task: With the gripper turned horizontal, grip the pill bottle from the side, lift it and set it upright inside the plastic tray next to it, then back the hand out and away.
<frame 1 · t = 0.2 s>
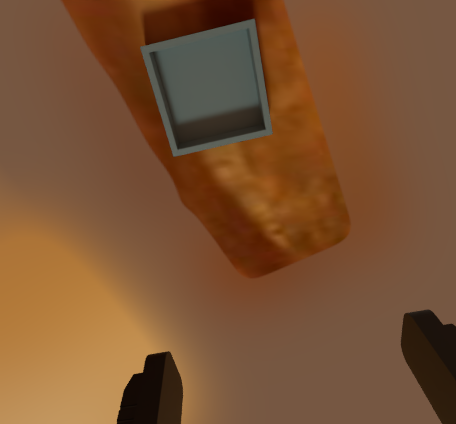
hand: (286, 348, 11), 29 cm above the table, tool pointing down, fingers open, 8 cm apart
tray: (210, 89, 35), on the table
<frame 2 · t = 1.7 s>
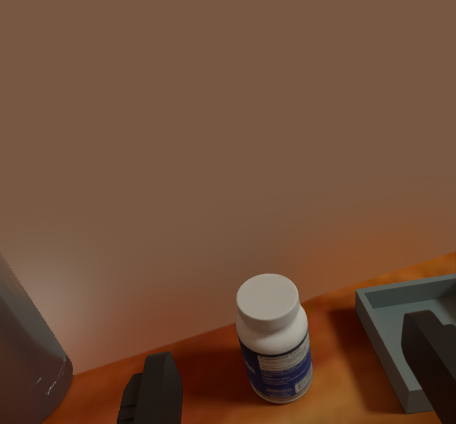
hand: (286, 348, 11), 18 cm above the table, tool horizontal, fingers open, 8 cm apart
pill bottle: (280, 376, 30), on the table
tray: (435, 345, 30), on the table
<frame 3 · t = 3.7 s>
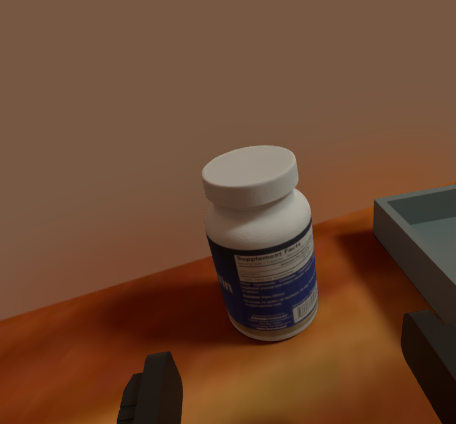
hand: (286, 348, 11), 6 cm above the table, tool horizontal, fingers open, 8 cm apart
pill bottle: (272, 309, 21), on the table
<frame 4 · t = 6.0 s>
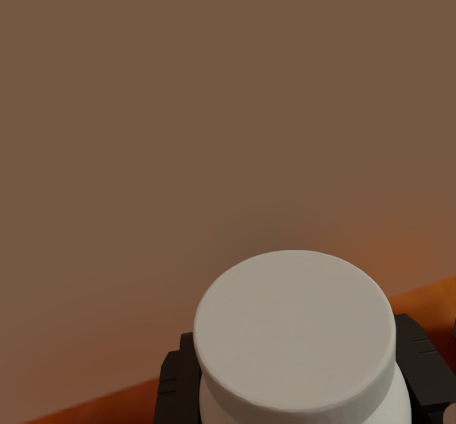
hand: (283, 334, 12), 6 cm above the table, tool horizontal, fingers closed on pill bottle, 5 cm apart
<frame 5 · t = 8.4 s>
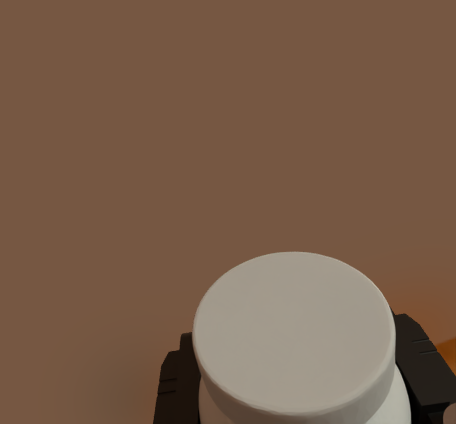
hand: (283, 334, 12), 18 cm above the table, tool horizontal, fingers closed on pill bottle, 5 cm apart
when the fingers open (8 cm above the table, at t = 10.9 s): pill bottle drops 1 cm, resting on tray.
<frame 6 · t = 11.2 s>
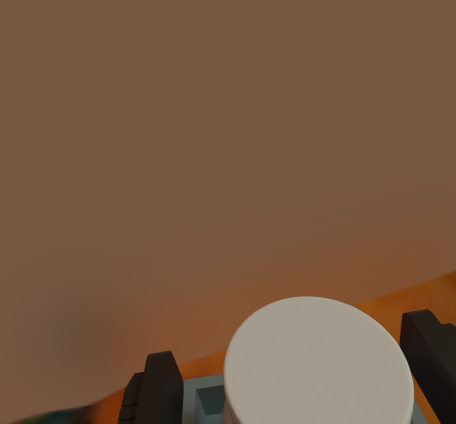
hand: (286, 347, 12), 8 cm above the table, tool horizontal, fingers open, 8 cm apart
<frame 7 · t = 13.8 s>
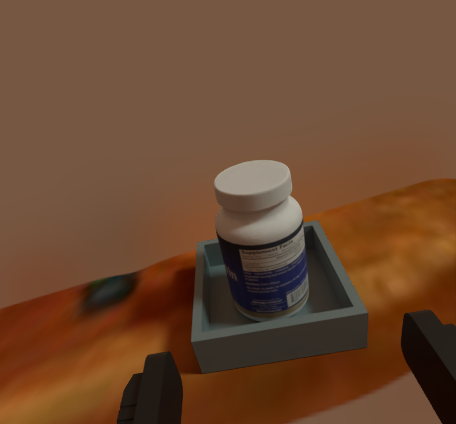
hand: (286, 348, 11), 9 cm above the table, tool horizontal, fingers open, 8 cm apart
pill bottle: (270, 297, 25), resting on tray
tray: (270, 300, 25), on the table
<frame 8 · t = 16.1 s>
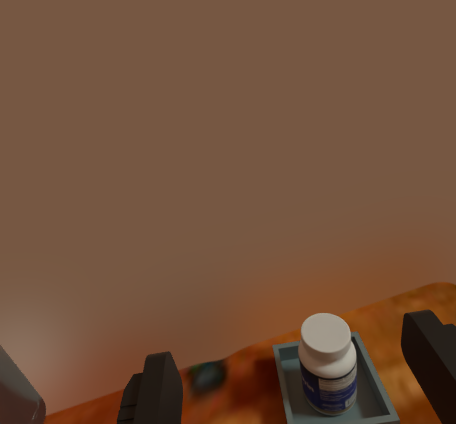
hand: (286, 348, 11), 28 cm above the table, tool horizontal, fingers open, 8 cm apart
pill bottle: (329, 392, 37), resting on tray
tray: (328, 394, 38), on the table
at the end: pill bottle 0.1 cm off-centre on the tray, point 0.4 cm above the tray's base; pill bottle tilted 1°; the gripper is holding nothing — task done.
